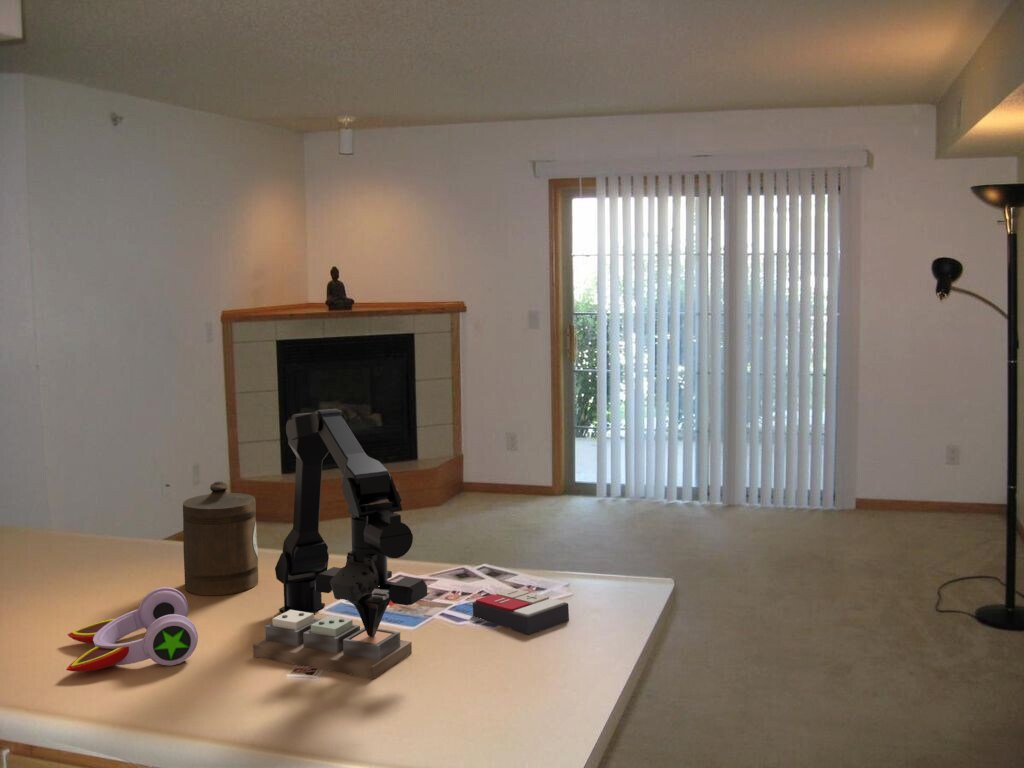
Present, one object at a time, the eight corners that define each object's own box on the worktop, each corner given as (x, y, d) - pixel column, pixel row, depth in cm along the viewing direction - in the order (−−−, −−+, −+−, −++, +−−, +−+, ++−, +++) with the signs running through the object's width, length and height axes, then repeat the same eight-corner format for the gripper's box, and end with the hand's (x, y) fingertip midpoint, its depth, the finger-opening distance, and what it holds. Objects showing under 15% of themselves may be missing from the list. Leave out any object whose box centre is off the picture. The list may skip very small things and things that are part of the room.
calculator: (512, 585, 196) (569, 599, 185) (513, 607, 196) (570, 621, 185) (471, 598, 188) (527, 613, 177) (472, 621, 188) (528, 637, 178)
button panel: (253, 656, 169) (252, 630, 169) (296, 633, 180) (295, 609, 180) (373, 679, 159) (372, 652, 159) (411, 653, 170) (411, 627, 169)
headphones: (200, 617, 166) (70, 620, 158) (195, 675, 167) (65, 681, 159) (189, 584, 184) (71, 585, 176) (184, 636, 185) (66, 640, 177)
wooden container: (273, 581, 211) (269, 479, 209) (218, 600, 199) (214, 492, 196) (225, 570, 219) (221, 472, 217) (169, 589, 206) (164, 484, 204)
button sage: (311, 636, 168) (310, 623, 168) (328, 626, 172) (328, 614, 172) (335, 640, 166) (335, 628, 166) (352, 631, 170) (352, 618, 170)
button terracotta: (351, 651, 165) (350, 638, 164) (367, 640, 169) (367, 628, 169) (376, 655, 163) (376, 642, 162) (392, 645, 167) (392, 632, 167)
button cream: (272, 629, 171) (272, 617, 171) (290, 620, 176) (290, 608, 176) (296, 634, 169) (296, 621, 169) (314, 624, 174) (313, 612, 173)
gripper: (292, 550, 161) (296, 643, 162) (392, 563, 153) (394, 661, 155) (333, 533, 171) (335, 621, 172) (428, 545, 163) (429, 637, 165)
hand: (371, 635), depth 166 cm, fingers closed, pressing on button terracotta
